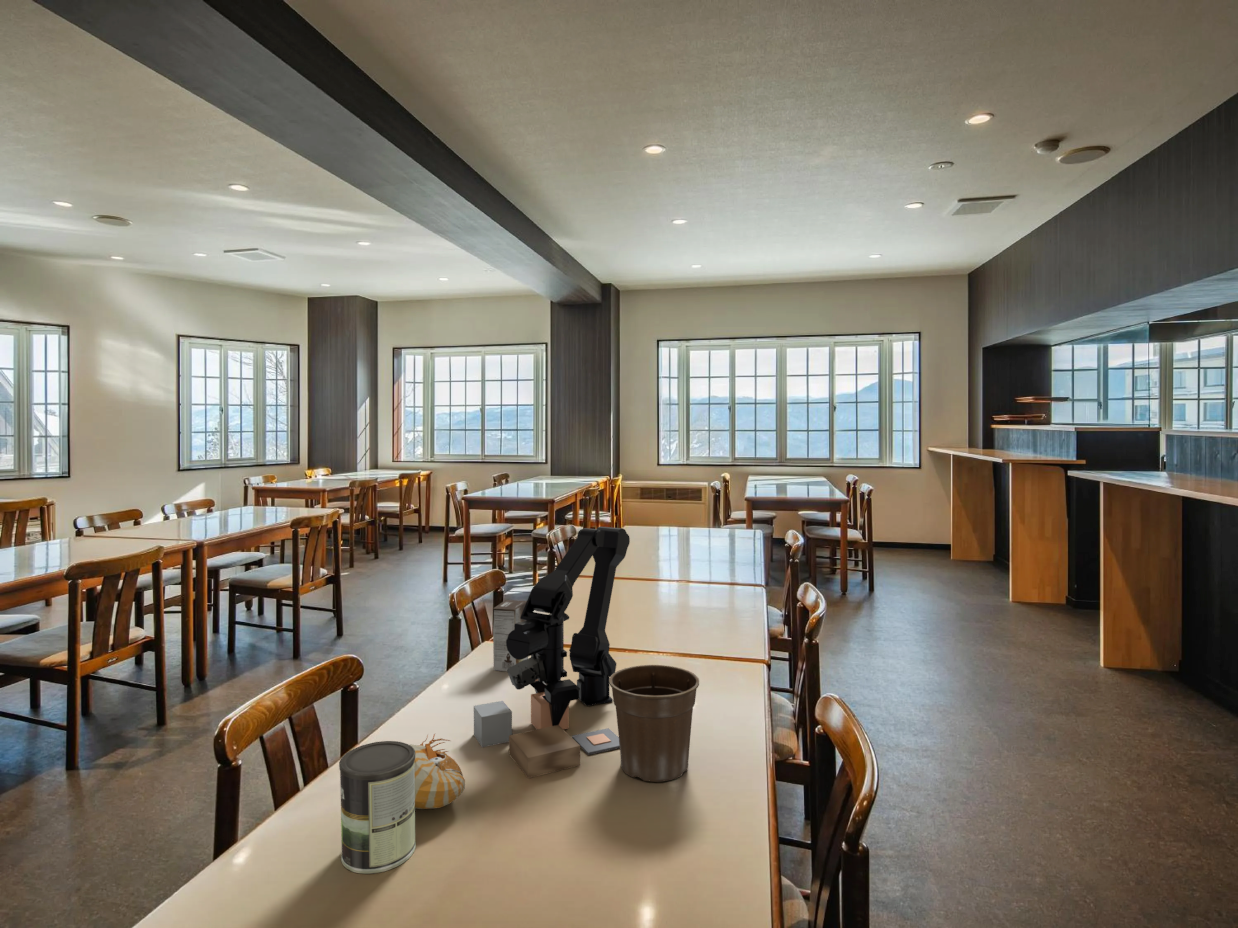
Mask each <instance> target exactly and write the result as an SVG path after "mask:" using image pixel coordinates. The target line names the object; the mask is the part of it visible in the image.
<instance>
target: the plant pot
mask: <svg viewBox="0 0 1238 928" xmlns="http://www.w3.org/2000/svg"><path fill="white" fill-rule="evenodd" d="M699 686H700V678H699V677H698V676H697V675H696V674H695V673H693V672H692V671H690V670H687V669H684V668H681V667H677V666H672V665H664V664H643V665H642V664H641V665H634V666H629V667H624V668H621V669H619V670H616V671H615V673H613V674H612V675H611V676H610V677H609V687H611V692H612V693H611V694H612V699H613V701H612V702H613V704H614V706H615V711H616V713H615V714H616V723H617V733H618V737H619V745H620V748H619V755H620V766H621V769H622V771H623V772H624V773H625V775H627V776H629V777H631V778H633V779H634V778H636V777H637V778H639V779H641V780H642V781H643V782H652V783H653V782H654V783H656V782H657V783H660V782H661V783H662V782H668V781H672V780H676V779H678V778H679V777H682V775H683V774H684V772H687V771H688V769H689V759H690V758H689V757H690V756H689V755H690V745H691V732H692V723H693V712H694V711H693V710H694V706H695V705H696V697H697V689H698V688H699Z"/></svg>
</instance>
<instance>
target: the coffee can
mask: <svg viewBox="0 0 1238 928" xmlns="http://www.w3.org/2000/svg"><path fill="white" fill-rule="evenodd" d="M414 760H415V750H414V748H413V747H412V746H410V744H409V743H406V742H402V741H395V740H382V741H375V742H369V743H365V744H363V745H360V746H357V747H354V748H353V749H351V750H349V751H348V752H346V753H345V754H344V755H342V757H341V758H340V760H339V762H338V763H339V765H338V767H339V771H340V772H339V777H340V781H339V782H340V822H341V823H340V827H341V831H340V832H341V836H340V838H341V855H340V861H341V863H342V866H344V868H345V869H347V870H348V871H350V872H352V873H355V874H360V875H361V874H363V875H371V874H378V873H384V872H388V871H391V870H392V869H394V868H397V867H399V866H401V865H403V863H405V862H407V861H408V860H409V859H410V858H411V857H412V856H413V854H414V853H415V850H416V848H417V845H416V844H417V843H416V842H417V841H416V812H415V811H416V809H415V775H414Z"/></svg>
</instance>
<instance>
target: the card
mask: <svg viewBox="0 0 1238 928" xmlns="http://www.w3.org/2000/svg"><path fill="white" fill-rule="evenodd" d="M571 737H572V738H573V739H574V740H575V741H576V742H577V743H578V744H579V745H580V749H582V750H583V752H584V753H585V754H586V755H587V756H591V755H595V754H600V753H604V752H610V751H615V750H617V749H620V745H619V735H617V734H616V733H615V732H614V731H613V730H612V729H610V728H609V727H608V728H607V727H606V728H602V729H598V730H593V731H587V732H583V733H578V734H573V735H571Z"/></svg>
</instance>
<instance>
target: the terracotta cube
mask: <svg viewBox="0 0 1238 928" xmlns="http://www.w3.org/2000/svg"><path fill="white" fill-rule="evenodd" d="M542 696H545V692H541V693H536V692H535V693H531V694H530V724H532V726H533V727H534V729H535V730H537V729H542V728H546V727H551V726H552V721H551V714H550V707H549V703H548V702H547V701H546V700H545V699H544V698H543V697H542ZM569 708H570V704H569V705H568V707H567V709H566V711H565V713H564V715H563V717H562V719H561V721H560V723H559V726H560V727H561V728H562V729H563V730H564V731H565V730H568V729H570V724H569V722H570V719H569V717H570V709H569Z"/></svg>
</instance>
